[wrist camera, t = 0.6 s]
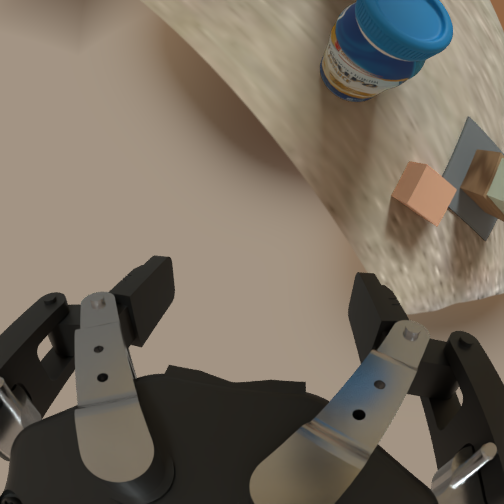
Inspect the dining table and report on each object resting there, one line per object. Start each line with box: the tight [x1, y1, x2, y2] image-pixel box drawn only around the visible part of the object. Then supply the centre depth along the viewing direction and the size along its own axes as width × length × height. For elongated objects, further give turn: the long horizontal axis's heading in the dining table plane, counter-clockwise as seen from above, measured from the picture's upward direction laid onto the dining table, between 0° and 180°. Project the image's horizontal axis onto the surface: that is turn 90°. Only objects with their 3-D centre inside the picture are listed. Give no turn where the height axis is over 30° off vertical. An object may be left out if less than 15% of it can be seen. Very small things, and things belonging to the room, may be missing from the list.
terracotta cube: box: [391, 161, 457, 226], centre depth 30 cm, size 6×6×6 cm
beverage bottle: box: [320, 0, 453, 102], centre depth 19 cm, size 8×8×20 cm
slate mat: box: [442, 117, 504, 241], centre depth 29 cm, size 14×14×1 cm
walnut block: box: [460, 149, 504, 221], centre depth 26 cm, size 7×7×6 cm
